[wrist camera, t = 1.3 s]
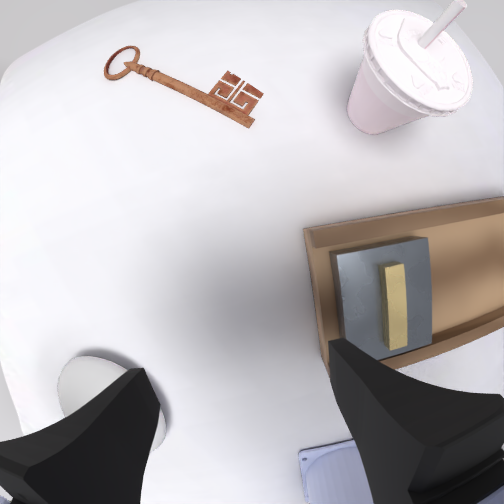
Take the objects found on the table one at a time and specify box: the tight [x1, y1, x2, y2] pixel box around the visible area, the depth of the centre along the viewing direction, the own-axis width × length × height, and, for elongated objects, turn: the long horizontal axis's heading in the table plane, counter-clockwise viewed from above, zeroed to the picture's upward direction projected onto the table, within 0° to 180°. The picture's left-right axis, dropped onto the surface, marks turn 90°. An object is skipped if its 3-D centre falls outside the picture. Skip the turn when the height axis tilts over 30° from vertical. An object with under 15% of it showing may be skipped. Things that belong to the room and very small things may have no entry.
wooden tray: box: [303, 196, 504, 378], centre depth 18 cm, size 10×20×4 cm, turn 101°
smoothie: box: [347, 0, 473, 134], centre depth 13 cm, size 6×6×14 cm
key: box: [104, 46, 263, 128], centre depth 20 cm, size 6×1×15 cm
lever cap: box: [329, 236, 432, 360], centre depth 16 cm, size 7×6×3 cm
